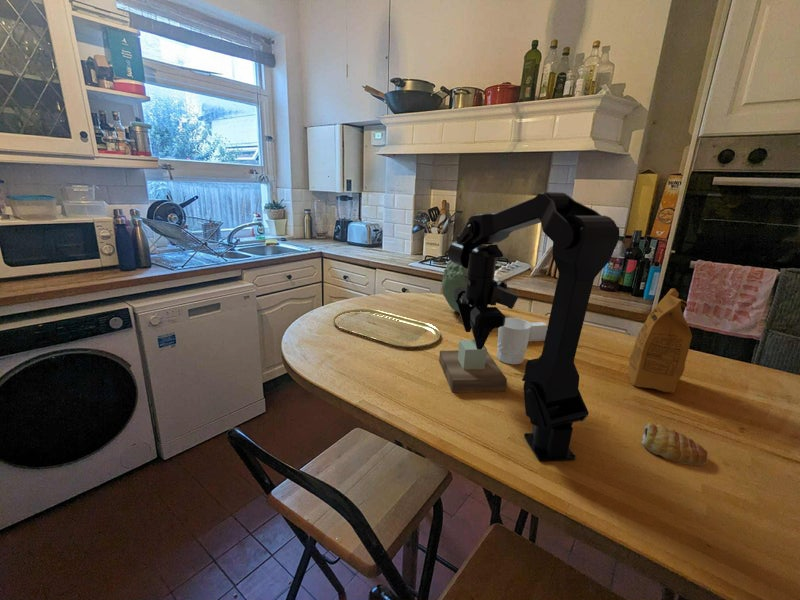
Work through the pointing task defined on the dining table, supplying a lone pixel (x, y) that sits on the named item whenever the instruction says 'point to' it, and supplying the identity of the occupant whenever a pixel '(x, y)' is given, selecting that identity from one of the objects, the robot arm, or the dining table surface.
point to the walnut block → (471, 374)
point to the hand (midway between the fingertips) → (473, 340)
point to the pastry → (673, 445)
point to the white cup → (513, 340)
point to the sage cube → (471, 355)
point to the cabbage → (453, 282)
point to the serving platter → (402, 319)
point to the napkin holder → (538, 331)
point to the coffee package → (661, 346)
